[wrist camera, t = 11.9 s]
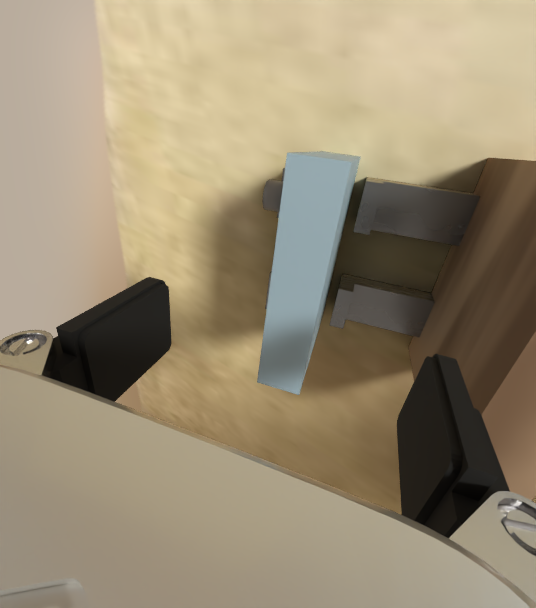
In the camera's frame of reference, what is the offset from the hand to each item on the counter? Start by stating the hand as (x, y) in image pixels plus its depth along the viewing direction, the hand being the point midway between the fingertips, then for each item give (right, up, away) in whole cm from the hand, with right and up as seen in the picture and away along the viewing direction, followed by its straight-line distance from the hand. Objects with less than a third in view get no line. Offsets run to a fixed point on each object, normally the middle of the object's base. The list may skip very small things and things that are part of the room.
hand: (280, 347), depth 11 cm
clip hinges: (+6, +6, +12) cm, 14 cm away
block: (+4, +6, +12) cm, 14 cm away
